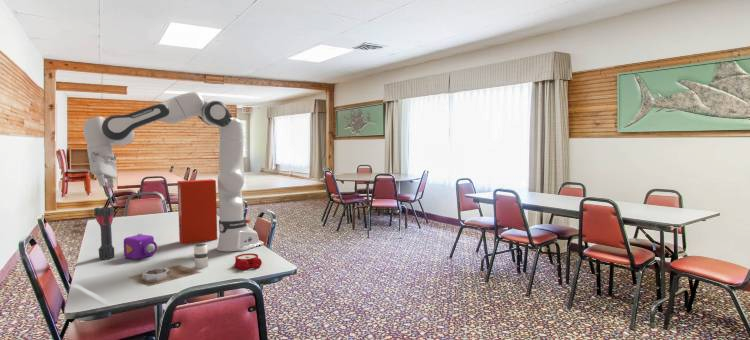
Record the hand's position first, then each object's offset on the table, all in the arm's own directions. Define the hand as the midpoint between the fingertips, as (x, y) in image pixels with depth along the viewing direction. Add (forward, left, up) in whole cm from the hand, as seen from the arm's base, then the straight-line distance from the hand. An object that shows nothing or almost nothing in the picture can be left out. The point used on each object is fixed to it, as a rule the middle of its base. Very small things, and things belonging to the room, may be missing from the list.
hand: (107, 187), depth 174 cm
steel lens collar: (-2, +35, -32) cm, 48 cm away
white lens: (-20, +35, -33) cm, 53 cm away
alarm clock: (-34, +47, -34) cm, 67 cm away
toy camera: (-14, -4, -34) cm, 37 cm away
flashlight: (-4, -17, -34) cm, 38 cm away
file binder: (-47, -14, -34) cm, 60 cm away
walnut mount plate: (-6, +34, -33) cm, 48 cm away
